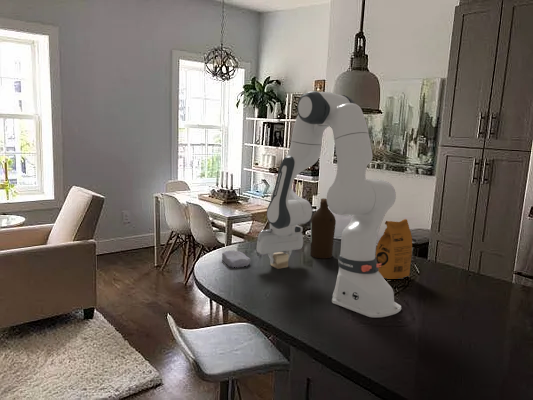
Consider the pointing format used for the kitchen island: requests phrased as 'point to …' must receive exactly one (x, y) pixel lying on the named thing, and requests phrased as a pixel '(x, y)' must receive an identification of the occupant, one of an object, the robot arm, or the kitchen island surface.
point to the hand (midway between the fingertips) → (279, 262)
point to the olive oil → (322, 231)
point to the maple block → (280, 260)
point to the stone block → (235, 259)
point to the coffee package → (395, 250)
